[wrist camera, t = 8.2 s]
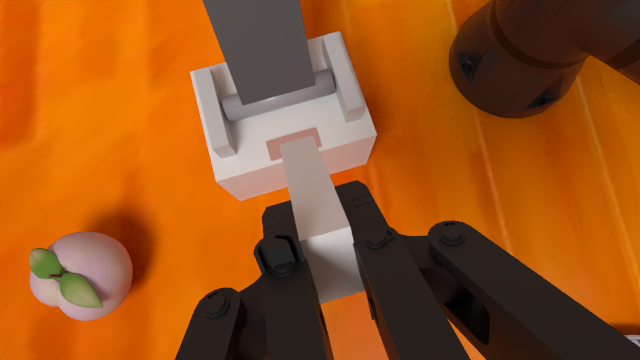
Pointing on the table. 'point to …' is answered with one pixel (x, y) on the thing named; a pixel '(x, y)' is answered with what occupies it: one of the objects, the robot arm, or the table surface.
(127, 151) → the table surface
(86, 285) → the decorative fruit
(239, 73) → the lever
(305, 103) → the box
